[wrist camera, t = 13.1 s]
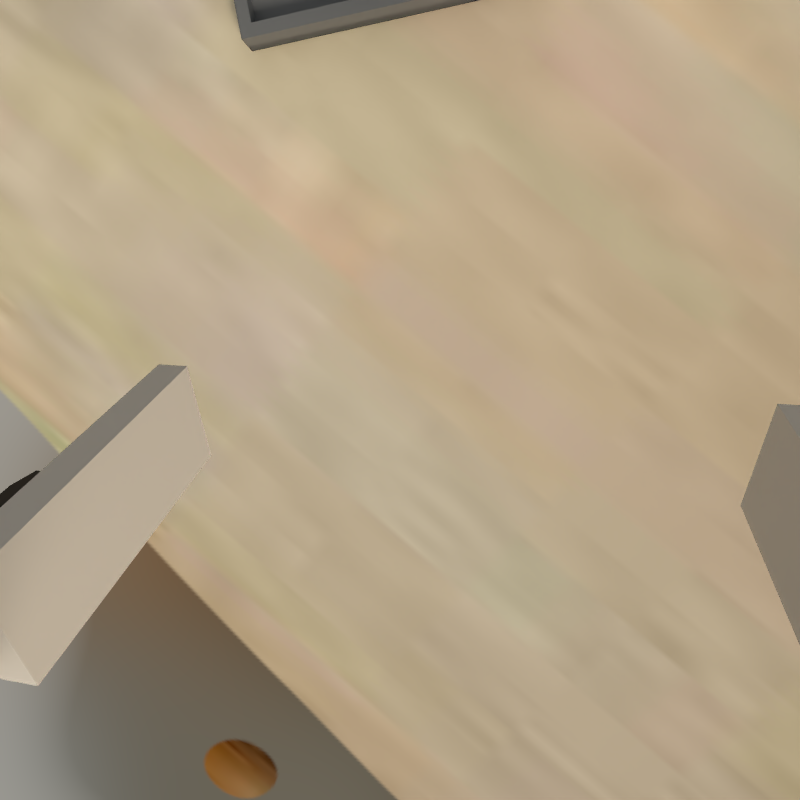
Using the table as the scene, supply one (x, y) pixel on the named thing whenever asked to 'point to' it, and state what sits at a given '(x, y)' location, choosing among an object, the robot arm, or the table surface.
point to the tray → (320, 17)
